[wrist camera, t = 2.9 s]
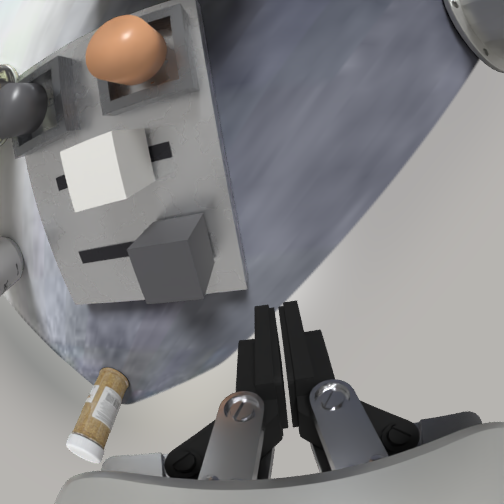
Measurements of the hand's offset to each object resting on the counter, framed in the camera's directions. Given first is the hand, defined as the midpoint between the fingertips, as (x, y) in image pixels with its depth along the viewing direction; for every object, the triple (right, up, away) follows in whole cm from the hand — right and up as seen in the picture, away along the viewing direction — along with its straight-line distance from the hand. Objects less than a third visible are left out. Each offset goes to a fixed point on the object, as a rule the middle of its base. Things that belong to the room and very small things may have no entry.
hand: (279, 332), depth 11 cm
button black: (-18, +14, +3) cm, 24 cm away
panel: (-12, +11, +10) cm, 19 cm away
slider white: (-10, +10, +7) cm, 16 cm away
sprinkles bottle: (-20, -14, +22) cm, 33 cm away
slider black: (-6, +4, +10) cm, 12 cm away
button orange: (-9, +16, +3) cm, 18 cm away
